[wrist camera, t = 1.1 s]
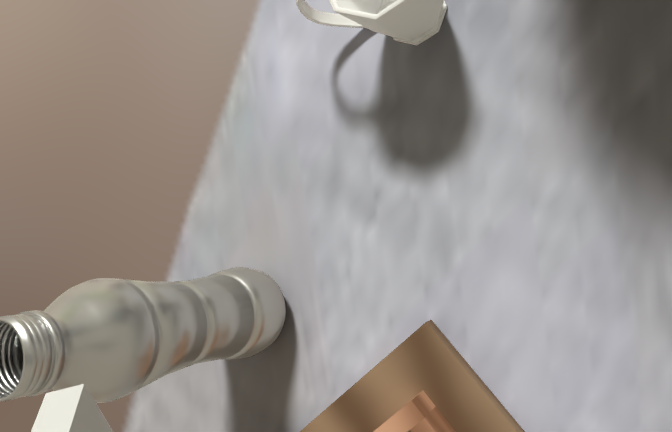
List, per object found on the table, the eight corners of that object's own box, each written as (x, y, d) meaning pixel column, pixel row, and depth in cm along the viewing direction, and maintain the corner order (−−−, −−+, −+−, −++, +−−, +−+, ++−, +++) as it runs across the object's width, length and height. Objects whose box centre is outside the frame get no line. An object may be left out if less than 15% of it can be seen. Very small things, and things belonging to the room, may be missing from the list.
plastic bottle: (309, 333, 39) (68, 410, 21) (238, 363, 41) (-32, 455, 23) (278, 252, 40) (28, 257, 22) (212, 286, 43) (-62, 316, 25)
